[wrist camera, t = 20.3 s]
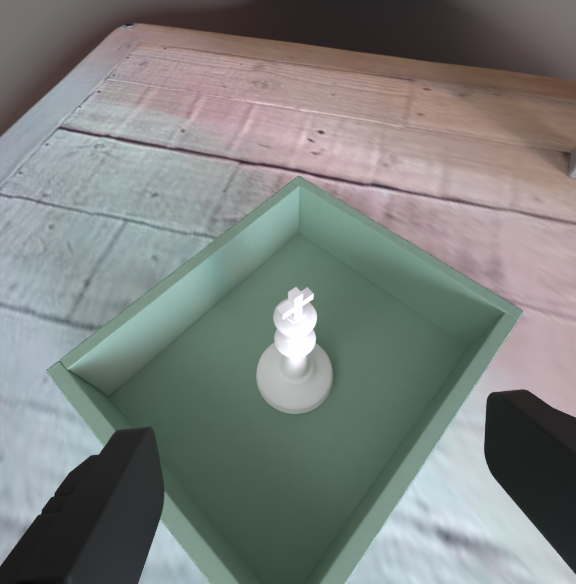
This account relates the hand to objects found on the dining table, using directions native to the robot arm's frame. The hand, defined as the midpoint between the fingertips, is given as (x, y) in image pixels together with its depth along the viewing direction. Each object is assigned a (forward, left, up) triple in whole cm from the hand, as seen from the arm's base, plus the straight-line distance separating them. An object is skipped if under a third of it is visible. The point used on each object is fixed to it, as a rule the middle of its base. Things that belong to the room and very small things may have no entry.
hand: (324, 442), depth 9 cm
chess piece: (-4, -5, -14) cm, 15 cm away
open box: (-4, -5, -14) cm, 16 cm away
